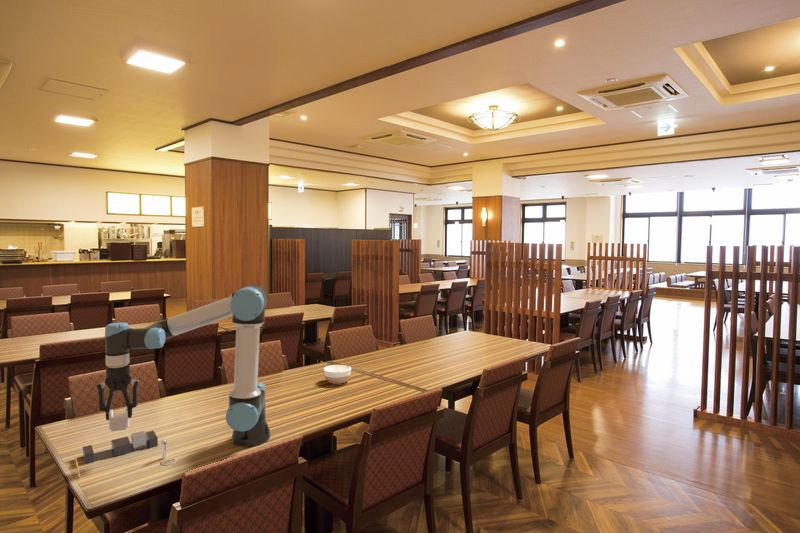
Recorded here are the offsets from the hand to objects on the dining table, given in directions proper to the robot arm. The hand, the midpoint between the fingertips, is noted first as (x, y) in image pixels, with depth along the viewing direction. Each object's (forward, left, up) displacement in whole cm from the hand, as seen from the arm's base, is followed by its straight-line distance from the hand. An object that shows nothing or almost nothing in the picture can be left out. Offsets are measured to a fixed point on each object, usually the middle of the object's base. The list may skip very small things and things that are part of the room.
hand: (119, 427), depth 172 cm
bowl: (+33, -113, -13) cm, 119 cm away
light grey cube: (+8, -7, -12) cm, 17 cm away
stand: (-10, -13, -13) cm, 21 cm away
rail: (+8, -1, -13) cm, 16 cm away
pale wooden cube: (0, 0, 0) cm, 1 cm away
